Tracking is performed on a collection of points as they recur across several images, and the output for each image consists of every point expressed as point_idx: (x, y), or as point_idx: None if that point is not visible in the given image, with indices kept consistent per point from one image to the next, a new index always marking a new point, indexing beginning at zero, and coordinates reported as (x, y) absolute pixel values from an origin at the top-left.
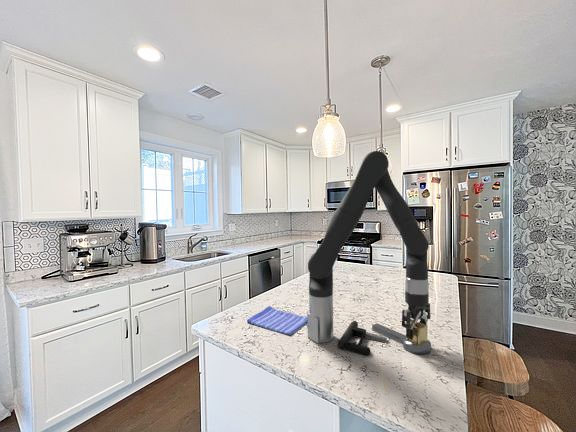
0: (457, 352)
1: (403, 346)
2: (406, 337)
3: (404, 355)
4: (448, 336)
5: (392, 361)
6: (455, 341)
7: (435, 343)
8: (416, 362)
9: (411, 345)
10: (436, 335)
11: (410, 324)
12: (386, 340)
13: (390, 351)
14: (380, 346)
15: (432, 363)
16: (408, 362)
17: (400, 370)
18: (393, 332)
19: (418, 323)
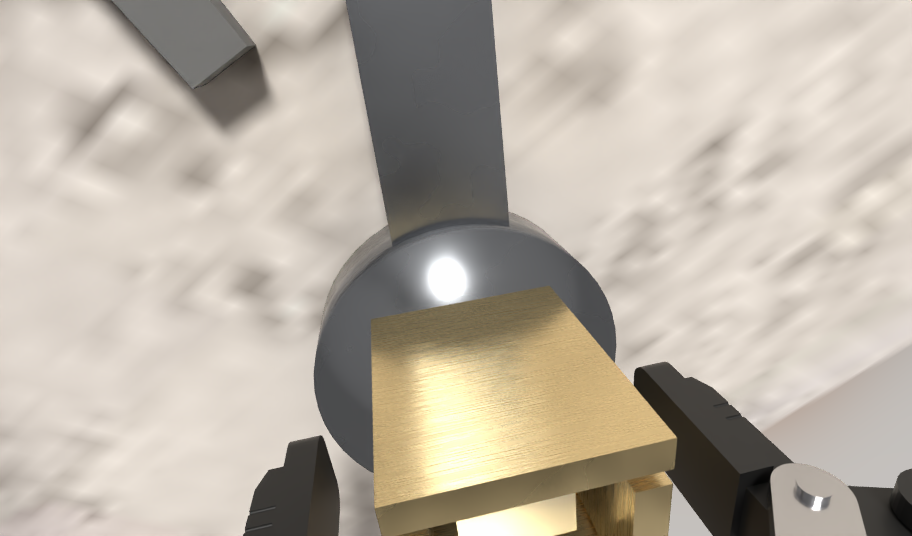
0: (670, 479)
1: (339, 275)
2: (372, 345)
3: (227, 380)
4: (889, 301)
5: (15, 414)
6: (833, 376)
7: (681, 339)
8: (251, 485)
9: (333, 420)
10: (843, 243)
11: (474, 499)
12: (238, 57)
13: (121, 271)
14: (53, 124)
15: (367, 523)
16: (177, 467)
17: (8, 525)
18: (423, 26)
19: (629, 522)
